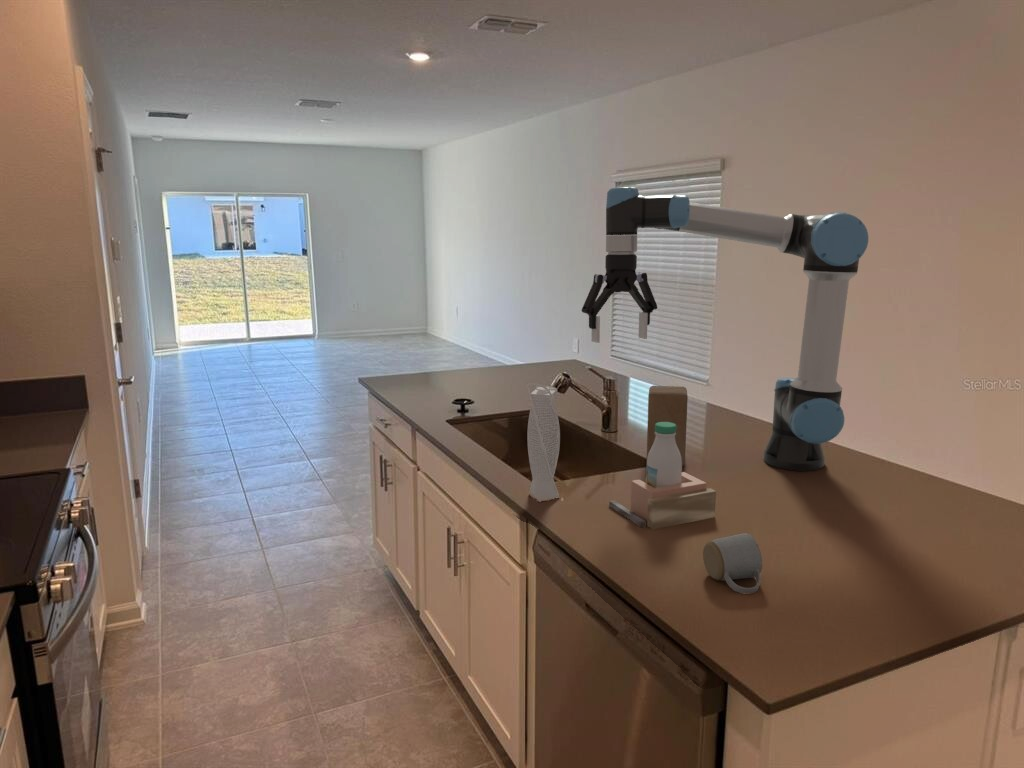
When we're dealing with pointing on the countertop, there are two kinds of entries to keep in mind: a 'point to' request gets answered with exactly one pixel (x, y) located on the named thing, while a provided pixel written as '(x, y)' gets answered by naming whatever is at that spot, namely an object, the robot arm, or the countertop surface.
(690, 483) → the cradle
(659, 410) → the block
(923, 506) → the countertop surface
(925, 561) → the countertop surface
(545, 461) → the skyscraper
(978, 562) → the countertop surface
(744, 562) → the ceramic mug
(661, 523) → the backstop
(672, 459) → the milk bottle
